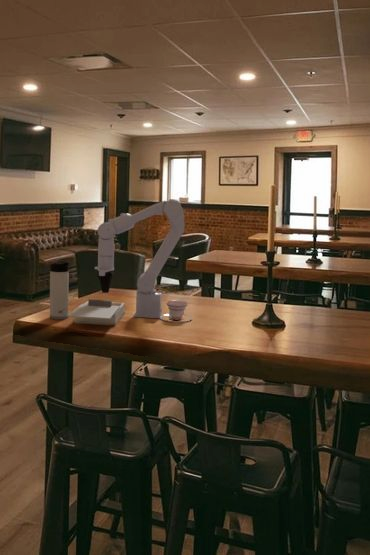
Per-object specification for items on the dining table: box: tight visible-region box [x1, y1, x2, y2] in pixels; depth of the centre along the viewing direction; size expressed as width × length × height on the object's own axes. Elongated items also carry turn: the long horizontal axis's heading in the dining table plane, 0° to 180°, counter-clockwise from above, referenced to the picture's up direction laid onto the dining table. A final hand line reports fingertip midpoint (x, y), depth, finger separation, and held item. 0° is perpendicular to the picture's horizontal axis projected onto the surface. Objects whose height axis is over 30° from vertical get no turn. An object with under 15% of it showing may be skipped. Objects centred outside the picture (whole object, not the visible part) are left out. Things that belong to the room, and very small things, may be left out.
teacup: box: [158, 299, 193, 323], centre depth 193 cm, size 12×12×6 cm
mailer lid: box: [67, 298, 120, 320], centre depth 179 cm, size 14×18×2 cm
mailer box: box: [74, 300, 126, 326], centre depth 189 cm, size 14×18×4 cm
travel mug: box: [49, 261, 70, 321], centre depth 185 cm, size 6×7×20 cm
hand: (105, 292), depth 195 cm, fingers closed
